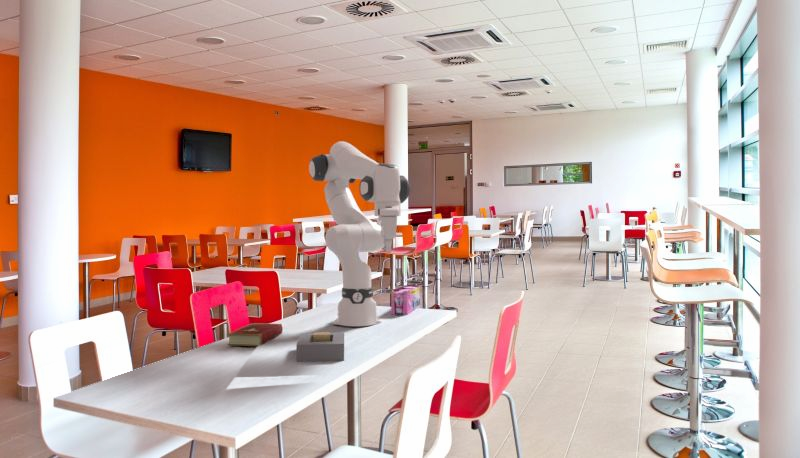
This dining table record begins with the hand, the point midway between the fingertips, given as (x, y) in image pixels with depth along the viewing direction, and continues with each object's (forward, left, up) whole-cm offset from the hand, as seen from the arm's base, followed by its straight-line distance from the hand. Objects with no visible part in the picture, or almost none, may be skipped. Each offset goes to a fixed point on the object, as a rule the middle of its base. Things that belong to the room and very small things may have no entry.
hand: (387, 251), depth 199 cm
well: (+15, -22, -31) cm, 41 cm away
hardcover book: (-13, -46, -32) cm, 58 cm away
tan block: (+15, -22, -31) cm, 40 cm away
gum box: (-52, +11, -31) cm, 62 cm away
